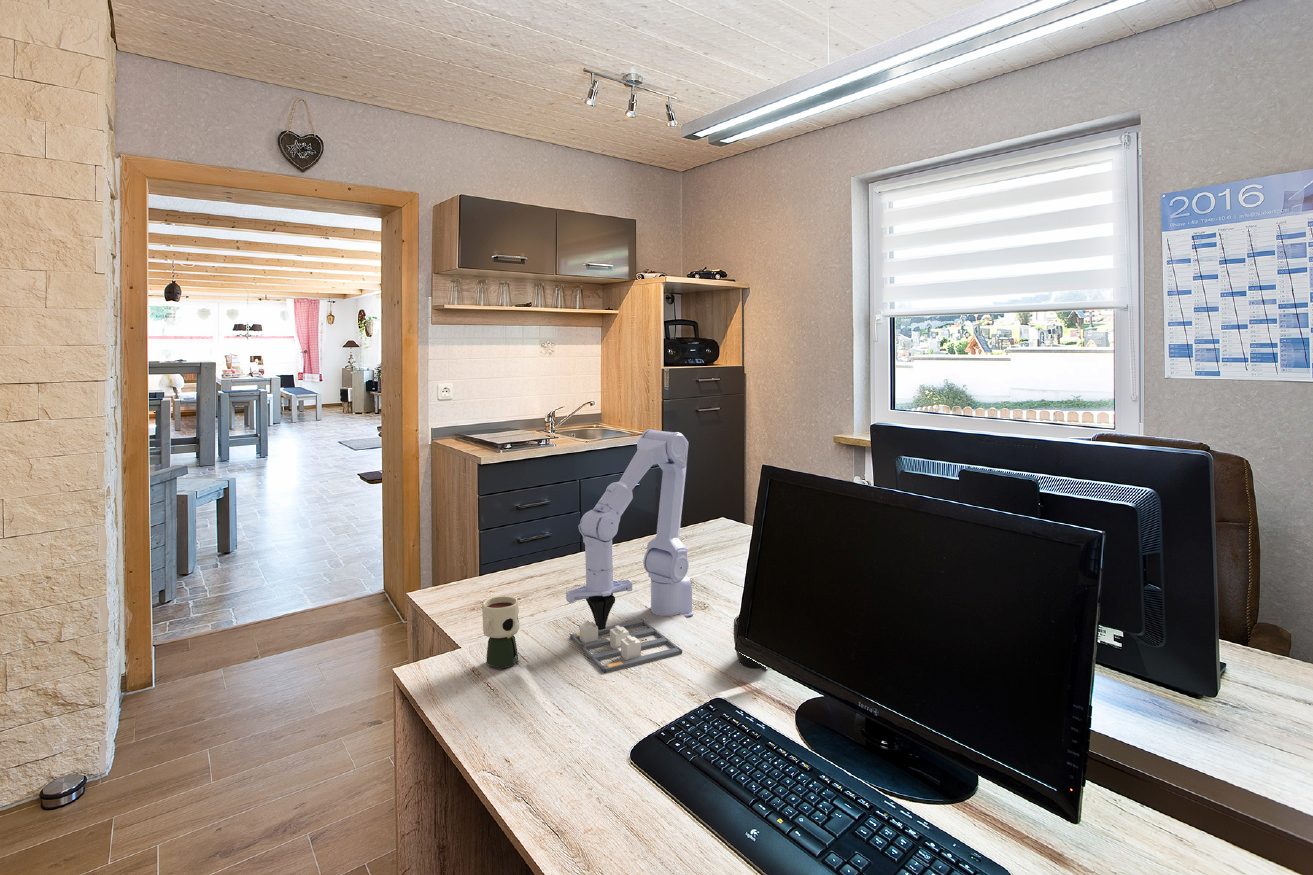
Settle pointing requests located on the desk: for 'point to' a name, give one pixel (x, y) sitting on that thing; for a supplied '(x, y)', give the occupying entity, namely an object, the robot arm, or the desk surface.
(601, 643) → the switch bank
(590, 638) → the tab
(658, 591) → the robot arm
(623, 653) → the tab
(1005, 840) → the desk surface
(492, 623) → the character mug
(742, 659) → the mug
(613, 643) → the tab
